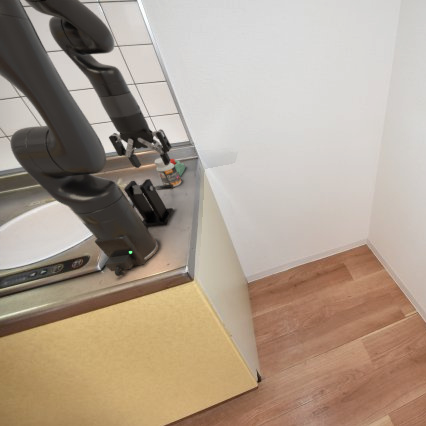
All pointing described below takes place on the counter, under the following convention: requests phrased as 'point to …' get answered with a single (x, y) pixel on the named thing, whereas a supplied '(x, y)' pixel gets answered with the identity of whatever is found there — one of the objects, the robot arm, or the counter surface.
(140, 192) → the lever
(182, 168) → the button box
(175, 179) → the pill bottle
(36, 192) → the counter surface
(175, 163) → the stop button
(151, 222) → the bracket
